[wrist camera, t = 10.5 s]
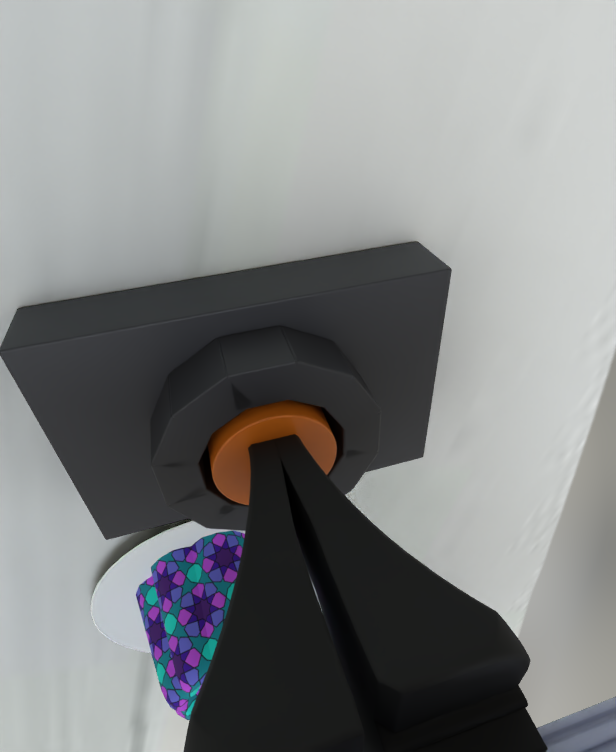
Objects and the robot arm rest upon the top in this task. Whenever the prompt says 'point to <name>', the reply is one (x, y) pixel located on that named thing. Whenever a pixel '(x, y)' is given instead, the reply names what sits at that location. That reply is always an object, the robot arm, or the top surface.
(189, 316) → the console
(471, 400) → the top surface
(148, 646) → the pudding
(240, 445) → the button
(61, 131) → the top surface
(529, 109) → the top surface
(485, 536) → the top surface
